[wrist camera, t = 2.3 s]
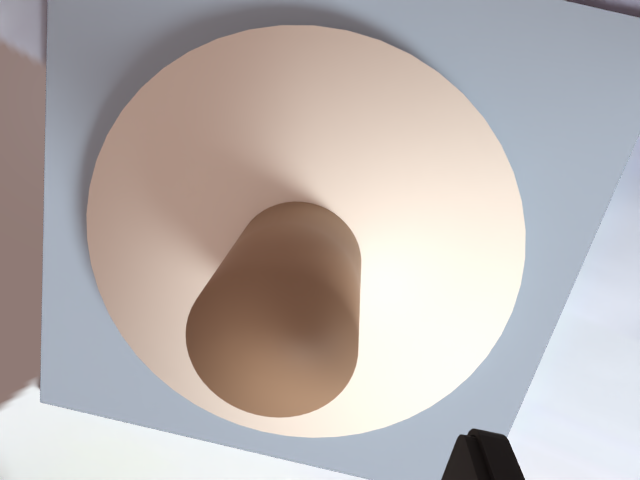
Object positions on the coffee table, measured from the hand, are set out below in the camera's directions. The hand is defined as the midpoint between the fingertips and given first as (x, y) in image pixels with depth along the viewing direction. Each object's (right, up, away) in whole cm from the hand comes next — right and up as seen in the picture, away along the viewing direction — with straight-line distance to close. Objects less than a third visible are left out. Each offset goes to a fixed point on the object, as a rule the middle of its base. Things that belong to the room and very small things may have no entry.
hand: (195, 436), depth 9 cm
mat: (+2, +3, +9) cm, 9 cm away
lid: (+2, +3, +8) cm, 9 cm away
